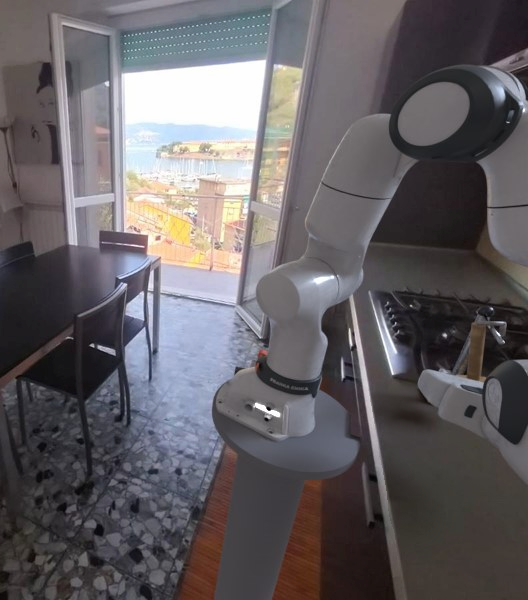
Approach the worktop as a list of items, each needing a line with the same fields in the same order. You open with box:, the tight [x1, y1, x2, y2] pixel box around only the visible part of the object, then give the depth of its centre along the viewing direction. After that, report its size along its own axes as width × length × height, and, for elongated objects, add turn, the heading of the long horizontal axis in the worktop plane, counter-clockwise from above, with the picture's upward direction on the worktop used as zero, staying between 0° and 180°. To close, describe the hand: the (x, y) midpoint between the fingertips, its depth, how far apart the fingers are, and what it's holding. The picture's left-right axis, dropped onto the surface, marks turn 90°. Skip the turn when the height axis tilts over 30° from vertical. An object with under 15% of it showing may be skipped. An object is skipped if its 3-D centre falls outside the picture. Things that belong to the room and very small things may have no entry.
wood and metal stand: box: [426, 305, 505, 404], centre depth 78 cm, size 8×15×26 cm, turn 149°
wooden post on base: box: [456, 320, 507, 382], centre depth 76 cm, size 6×5×18 cm
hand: (472, 379), depth 69 cm, fingers open, 8 cm apart
